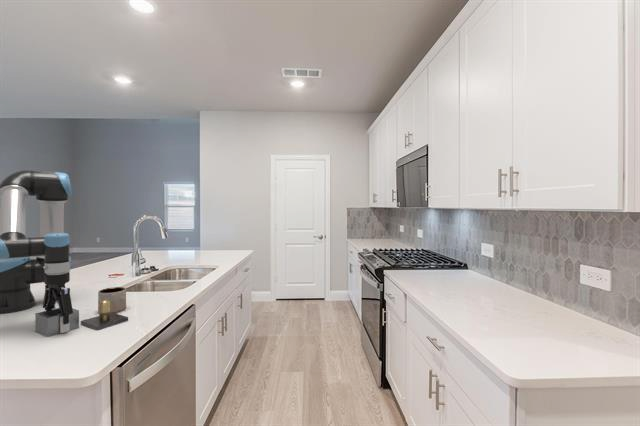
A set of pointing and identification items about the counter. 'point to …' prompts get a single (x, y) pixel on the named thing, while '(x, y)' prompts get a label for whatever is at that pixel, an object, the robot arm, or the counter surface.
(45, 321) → the collar
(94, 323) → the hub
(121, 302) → the planter
